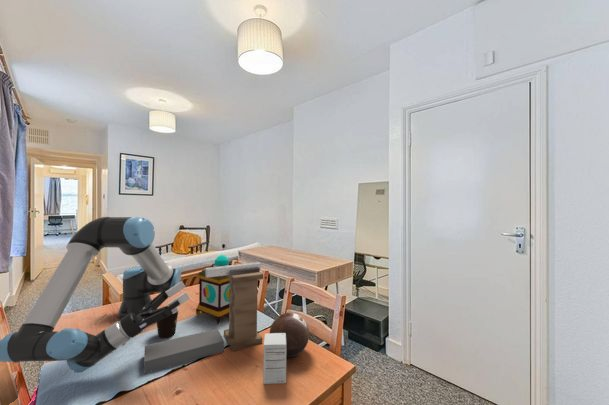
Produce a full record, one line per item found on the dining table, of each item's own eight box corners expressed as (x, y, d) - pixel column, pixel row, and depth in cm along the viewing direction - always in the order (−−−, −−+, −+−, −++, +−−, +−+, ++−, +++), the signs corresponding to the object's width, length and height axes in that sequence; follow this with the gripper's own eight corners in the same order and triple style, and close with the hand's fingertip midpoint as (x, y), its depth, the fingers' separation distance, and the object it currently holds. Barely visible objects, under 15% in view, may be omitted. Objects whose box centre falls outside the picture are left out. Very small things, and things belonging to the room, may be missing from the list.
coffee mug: (168, 341, 106) (168, 316, 106) (150, 338, 108) (150, 314, 107) (186, 327, 117) (187, 305, 117) (170, 325, 119) (170, 303, 119)
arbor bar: (205, 275, 102) (205, 268, 102) (258, 268, 113) (258, 262, 113) (206, 277, 99) (206, 269, 99) (260, 270, 111) (260, 263, 111)
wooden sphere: (312, 364, 92) (312, 322, 92) (269, 368, 90) (270, 324, 90) (305, 341, 107) (305, 305, 107) (268, 344, 105) (269, 307, 105)
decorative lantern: (249, 311, 135) (250, 254, 135) (218, 326, 119) (219, 261, 119) (223, 302, 146) (224, 249, 146) (191, 315, 129) (192, 255, 129)
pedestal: (223, 334, 111) (224, 266, 111) (250, 328, 118) (251, 263, 118) (232, 351, 99) (234, 274, 99) (262, 342, 106) (263, 270, 106)
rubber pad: (144, 356, 95) (144, 345, 95) (217, 338, 109) (217, 328, 109) (144, 373, 86) (144, 361, 86) (223, 351, 99) (224, 340, 99)
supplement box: (264, 369, 89) (264, 332, 89) (285, 368, 90) (286, 332, 90) (262, 384, 82) (263, 344, 82) (286, 383, 82) (286, 344, 82)
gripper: (134, 322, 99) (187, 287, 109) (129, 356, 78) (195, 309, 87) (122, 307, 97) (177, 273, 107) (114, 337, 76) (183, 291, 85)
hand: (185, 289), depth 97 cm, fingers open, 13 cm apart
